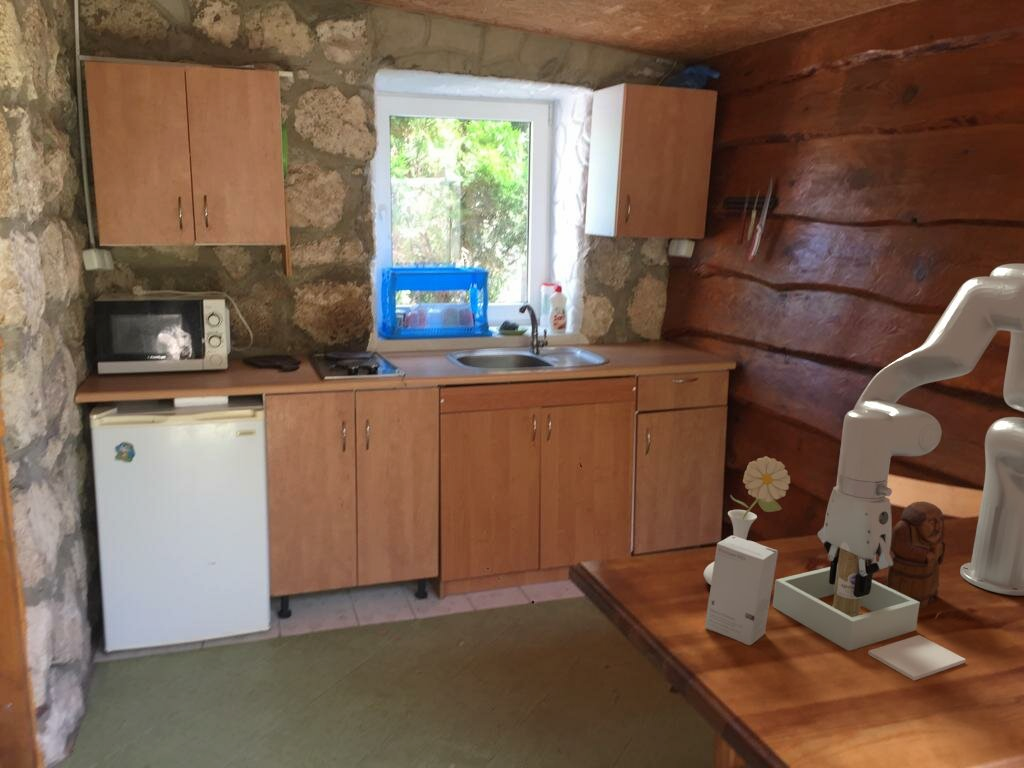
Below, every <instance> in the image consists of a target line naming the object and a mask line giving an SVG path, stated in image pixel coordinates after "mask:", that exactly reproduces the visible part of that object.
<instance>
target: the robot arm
mask: <svg viewBox="0 0 1024 768" xmlns="http://www.w3.org/2000/svg"><path fill="white" fill-rule="evenodd" d="M1000 331H1007V332H1010V341H1009V351H1008V357H1007V364H1006V370H1005V376H1004V381H1003V399H1004V402H1005V403H1006V404H1007V406H1009V407H1011V408H1012V409H1014V410H1017V411H1019V412H1022V413H1024V263H1006V264H1001V265H1000V266H999V265H998V266H997V267H995V268H994V269H993V270H992V271H991V272H990V274H989V276H977V277H973V278H970V279H968V280H966V281H965V282H964V283H962V285H961V286H960V287H959V289H958V290H957V292H956V294H955V295H954V297H953V298H952V299H951V301H950V302H949V304H948V305H947V307H946V309H945V310H944V312H943V313H942V315H941V317H940V318H939V319H938V321H937V322H936V324H935V326H934V327H933V328H932V330H931V332H929V335H928V336H927V338H926V340H925V341H924V343H923V344H921V345H920V346H919V347H917V348H916V349H914V350H912V351H910V352H907V353H906V354H903V355H902V356H901V357H899V358H897V359H896V360H894V361H893V362H892V363H891V362H890V363H889V364H888V365H887V366H885V367H884V368H882V369H881V370H880V371H879V372H877V373H876V374H875V375H874V376H873V377H872V379H871V380H870V381H869V382H868V384H867V385H866V387H865V389H864V390H863V392H862V394H861V395H860V396H859V398H858V400H857V402H856V403H855V405H854V407H853V409H852V410H849V411H847V413H846V414H845V415H844V418H843V422H842V423H843V424H842V425H843V426H842V434H841V442H840V443H841V444H840V449H839V451H840V453H839V460H838V468H837V477H836V486H834V487H833V489H832V491H831V494H830V497H829V501H828V503H827V509H826V513H825V520H824V524H823V527H822V528H821V529H820V530H819V531H818V532H817V537H818V538H819V540H820V541H821V542H822V544H823V547H824V549H825V550H826V552H827V554H828V555H827V560H829V561H830V566H829V567H830V576H829V583H830V584H832V585H833V584H835V580H836V572H837V564H838V559H839V552H840V548H841V547H840V546H841V544H842V543H843V542H846V543H847V544H848V546H849V548H850V552H851V553H852V554H854V555H856V556H858V559H859V572H860V573H859V574H856V578H855V587H854V596H855V597H857V598H858V597H862V596H865V595H868V594H869V593H870V590H871V584H872V580H873V575H874V574H876V573H878V572H879V571H881V570H882V569H887V568H889V567H890V566H893V561H892V557H891V554H890V551H891V548H890V545H891V538H892V532H893V529H892V523H893V522H892V521H893V519H892V517H893V516H892V514H893V513H892V506H891V499H890V498H888V497H890V496H891V495H892V492H893V490H892V488H890V487H888V479H889V472H890V471H889V470H890V464H891V458H892V456H900V457H901V456H904V457H919V456H924V455H927V454H930V452H932V451H933V450H934V449H936V447H937V446H938V445H939V443H940V442H941V438H942V435H943V434H942V427H941V424H940V422H939V421H938V420H937V418H935V417H934V416H933V415H931V414H930V413H928V412H926V411H924V410H920V409H917V408H912V407H909V406H907V405H903V404H899V403H897V401H899V399H900V398H901V397H902V396H903V395H905V394H907V393H908V392H909V391H911V390H913V389H915V388H917V387H920V386H922V385H925V384H929V383H934V382H939V381H943V380H944V381H945V380H949V379H953V378H958V377H962V376H965V375H967V374H969V373H971V372H973V370H974V369H975V367H976V366H977V364H978V362H979V360H980V359H981V357H982V355H983V354H984V353H985V351H986V349H987V348H988V346H989V345H990V343H991V341H992V340H993V339H994V337H995V336H996V335H997V333H998V332H1000ZM984 453H985V454H984V455H985V474H984V482H983V483H984V484H983V490H982V496H981V497H982V498H981V501H980V502H981V504H980V507H979V514H978V519H977V520H978V521H977V525H976V530H975V531H976V532H975V537H974V544H973V550H972V555H971V561H970V562H967V563H966V562H965V563H964V564H963V565H961V566H960V571H959V572H960V576H961V577H962V579H964V580H965V581H967V582H968V583H969V584H972V585H974V586H975V587H978V588H981V589H983V590H986V591H989V592H993V593H997V594H1001V595H1007V596H1014V597H1015V596H1018V597H1020V596H1021V597H1022V596H1024V417H1019V416H1018V417H1017V416H1007V417H1002V418H999V419H997V420H995V421H994V422H993V423H992V424H991V425H990V426H989V428H988V429H987V432H986V434H985V439H984ZM877 557H878V558H879V559H878V561H877Z"/></svg>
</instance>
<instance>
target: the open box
mask: <svg viewBox="0 0 1024 768" xmlns="http://www.w3.org/2000/svg"><path fill="white" fill-rule="evenodd" d="M829 576H830V566H828V567H827V566H826V567H824V568H819V569H814V570H810V571H807V572H802V573H798V574H794V575H789V576H785V577H781V578H778V579H775V581H774V590H773V591H774V592H773V598H772V606H771V607H772V608H774V609H776V610H778V611H779V612H781V613H782V614H784V615H786V616H788V617H789V618H790V619H793V620H794V621H796V622H798V623H800V624H802V625H803V626H805V627H807V628H808V629H810V630H811V631H813V632H815V633H817V634H819V635H820V636H822V637H824V638H826V639H827V640H828V641H831V642H832V643H834V644H836V645H838V646H839V647H841V648H842V649H845V650H847V651H848V652H850V651H852V650H856V649H859V648H862V647H865V646H869V645H872V644H876V643H878V642H882V641H885V640H888V639H893V638H896V637H898V636H901V635H906V634H908V633H911V632H914V631H916V630H917V629H916V628H917V623H918V616H919V611H920V610H919V609H920V608H919V605H920V602H918V601H916V600H914V599H912V598H910V597H908V596H906V595H904V594H902V593H899V592H897V591H895V590H893V589H891V588H889V587H887V585H885V584H882V583H880V582H878V581H876V580H874V579H872V584H871V590H870V593H869V594H868V595H865V596H862V599H861V606H862V607H864V608H865V609H867V610H869V611H870V612H865V613H862V614H859V616H855V617H850V616H848V615H846V614H845V613H843V612H841V611H839V610H837V609H835V608H833V607H832V606H831V605H829V604H828V603H827V602H824V601H822V600H821V598H822V599H823V598H824V597H829V596H832V595H833V596H834V594H835V592H834V589H835V584H833V585H832V584H830V583H829Z"/></svg>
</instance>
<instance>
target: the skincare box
mask: <svg viewBox="0 0 1024 768" xmlns="http://www.w3.org/2000/svg"><path fill="white" fill-rule="evenodd" d="M715 548H716V550H715V556H714V561H713V562H714V568H713V575H712V581H711V585H710V587H709V588H710V589H709V590H710V591H709V594H708V595H709V596H708V601H707V608H706V609H707V610H706V614H705V615H706V617H705V622H704V623H705V624H704V626H705V629H707V630H709V631H710V632H711V631H712V632H715V633H718V634H720V635H722V636H725V637H728V638H730V639H733V640H736V641H738V642H740V643H741V644H745V645H747V646H752V645H753V644H754V643H755V642H756V641H758V640H759V639H760V638H761V637H763V636H764V635H765V633H766V629H767V622H768V614H769V609H770V604H771V597H772V591H773V585H774V579H775V572H776V566H777V560H778V554H779V551H778V550H777V549H774V548H771V547H768V546H766V545H763V544H760V543H758V542H755V541H752V540H747V539H746V540H745V539H742V538H739V537H736V536H734V534H733V535H730V536H727V537H726V538H725V539H723V540H721V541H719V542H717V543H716V547H715Z"/></svg>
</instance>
